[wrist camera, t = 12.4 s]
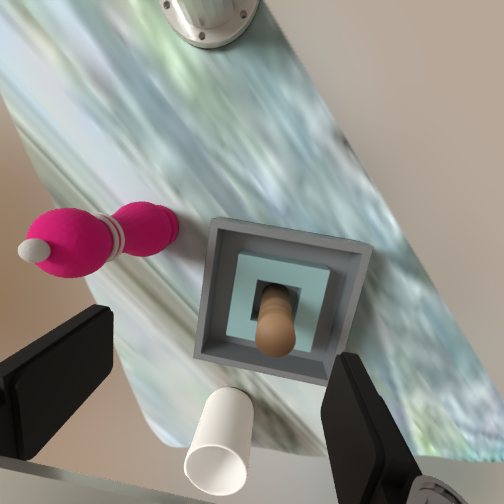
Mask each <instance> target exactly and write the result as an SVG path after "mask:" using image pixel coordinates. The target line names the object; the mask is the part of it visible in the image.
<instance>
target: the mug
mask: <svg viewBox="0 0 504 504" xmlns="http://www.w3.org/2000/svg"><path fill="white" fill-rule="evenodd" d="M253 418H254V409H253V404H252V402H251V400H250V398H249V397H248V396H247V395H246V394H245V393H244V392H242V391H241V390H238V389H236V388H231V387H225V388H220V389H218V390H216V391H214V392H213V393H212V394H211V395H210V396H209V398H208V400H207V402H206V404H205V407H204V410H203V413H202V416H201V418H200V421H199V424H198V427H197V430H196V433H195V435H194V438H193V441H192V444H191V447H190V449H189V451H188V453H187V456H186V459H185V464H184V472H185V474H186V476H187V477H188V478H189V479H190V481H191V482H192V483H193V484H194V485H195V486H196V487H197V488H199V489H200V490H202V491H203V492H206V493H208V494H212V495H217V496H226V495H230V494H233V493H235V492H237V491H239V490H240V489H241V488H242V487H243V486H244V484H245V482H246V480H247V475H248V465H249V456H250V447H251V437H252V428H253Z"/></svg>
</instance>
